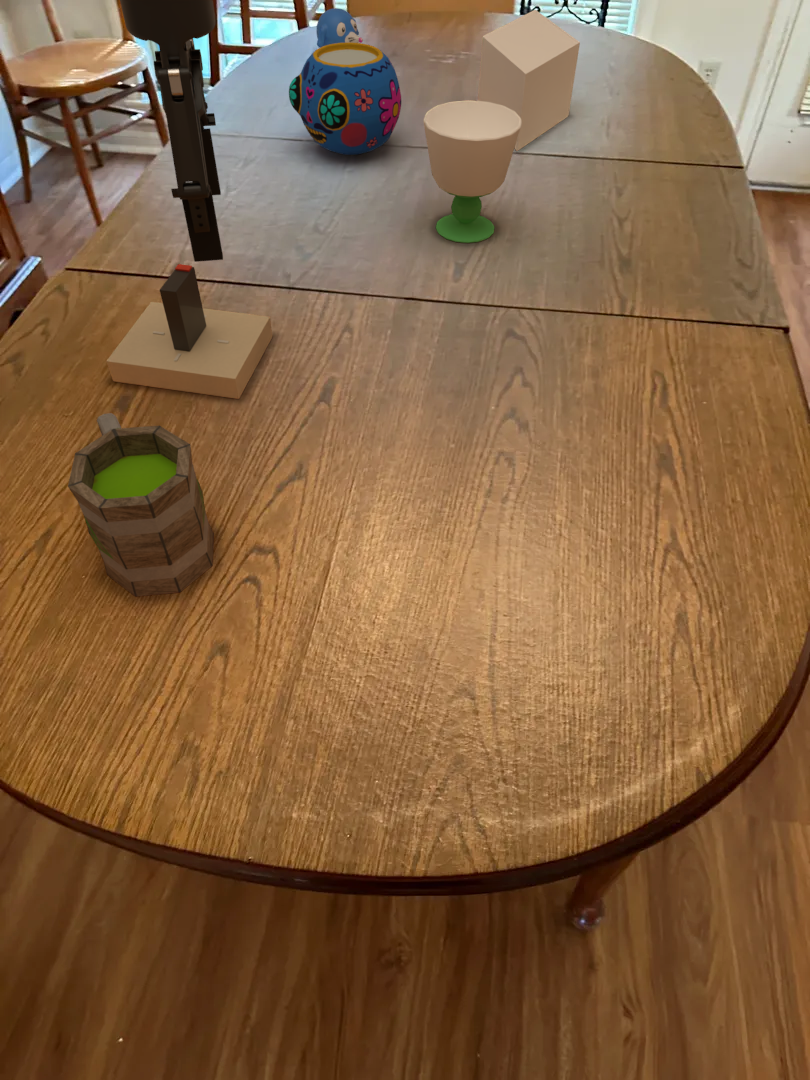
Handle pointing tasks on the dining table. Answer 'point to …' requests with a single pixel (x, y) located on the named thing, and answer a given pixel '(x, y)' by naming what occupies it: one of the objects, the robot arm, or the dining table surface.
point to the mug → (143, 507)
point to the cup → (469, 160)
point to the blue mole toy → (337, 28)
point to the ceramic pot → (347, 97)
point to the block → (529, 72)
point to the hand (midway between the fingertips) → (208, 225)
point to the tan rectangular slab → (192, 353)
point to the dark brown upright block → (183, 307)
